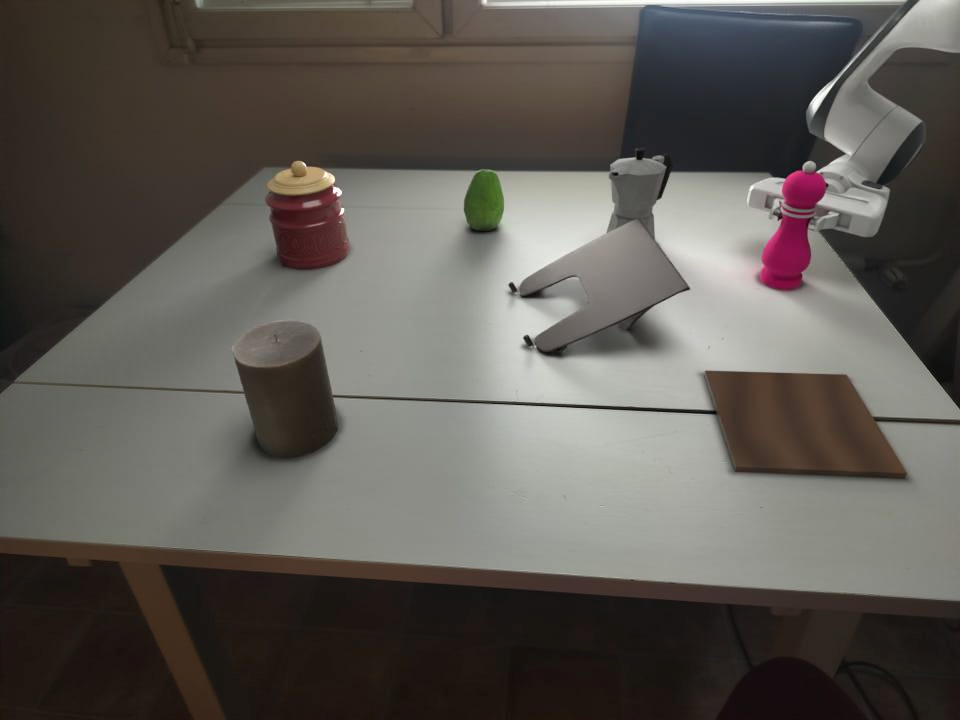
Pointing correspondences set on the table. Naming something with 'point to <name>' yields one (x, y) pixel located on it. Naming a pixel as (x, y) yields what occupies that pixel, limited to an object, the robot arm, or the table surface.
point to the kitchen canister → (307, 217)
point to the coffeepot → (638, 188)
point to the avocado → (484, 201)
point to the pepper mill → (793, 230)
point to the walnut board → (799, 425)
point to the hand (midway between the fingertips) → (793, 220)
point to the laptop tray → (607, 284)
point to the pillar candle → (287, 387)
